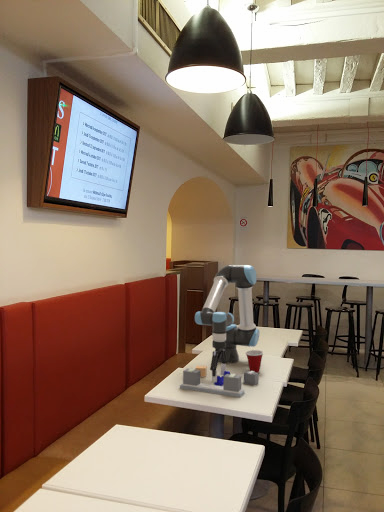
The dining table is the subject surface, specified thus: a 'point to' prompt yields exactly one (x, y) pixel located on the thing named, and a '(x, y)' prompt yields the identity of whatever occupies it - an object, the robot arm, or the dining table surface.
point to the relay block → (251, 377)
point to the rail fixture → (229, 388)
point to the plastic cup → (254, 360)
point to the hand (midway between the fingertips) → (218, 378)
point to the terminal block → (202, 370)
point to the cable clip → (221, 379)
